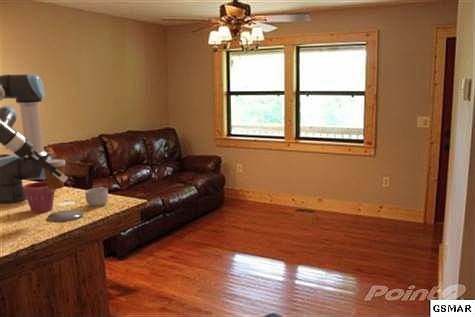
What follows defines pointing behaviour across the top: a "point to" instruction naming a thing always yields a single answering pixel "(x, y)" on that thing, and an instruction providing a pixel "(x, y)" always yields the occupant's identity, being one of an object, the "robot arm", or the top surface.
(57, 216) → the gray dome
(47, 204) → the plant pot
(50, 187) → the disposable coffee cup
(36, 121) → the robot arm
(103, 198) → the teacup
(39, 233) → the top surface
